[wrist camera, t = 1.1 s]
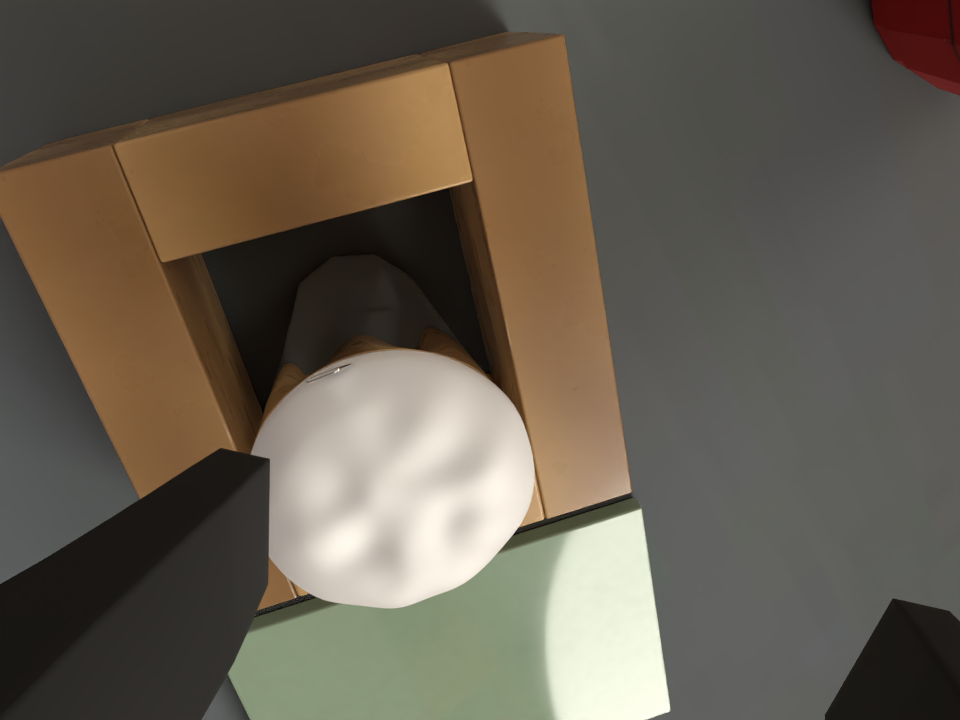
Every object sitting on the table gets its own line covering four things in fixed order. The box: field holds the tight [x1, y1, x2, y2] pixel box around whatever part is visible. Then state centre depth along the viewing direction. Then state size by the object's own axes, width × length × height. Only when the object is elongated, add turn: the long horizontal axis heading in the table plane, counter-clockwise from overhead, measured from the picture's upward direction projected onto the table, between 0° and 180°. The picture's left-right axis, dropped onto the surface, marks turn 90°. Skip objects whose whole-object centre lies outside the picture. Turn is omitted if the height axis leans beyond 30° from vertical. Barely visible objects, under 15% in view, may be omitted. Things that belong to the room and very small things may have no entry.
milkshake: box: [251, 254, 535, 608], centre depth 15 cm, size 5×5×10 cm
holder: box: [0, 32, 632, 610], centre depth 18 cm, size 10×10×4 cm
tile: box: [228, 498, 671, 720], centre depth 25 cm, size 13×9×1 cm
